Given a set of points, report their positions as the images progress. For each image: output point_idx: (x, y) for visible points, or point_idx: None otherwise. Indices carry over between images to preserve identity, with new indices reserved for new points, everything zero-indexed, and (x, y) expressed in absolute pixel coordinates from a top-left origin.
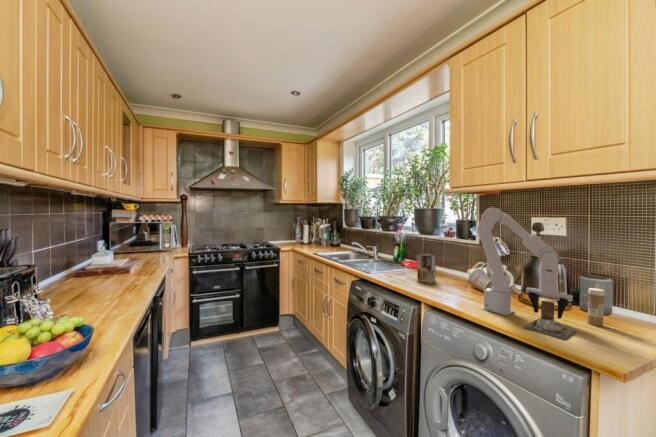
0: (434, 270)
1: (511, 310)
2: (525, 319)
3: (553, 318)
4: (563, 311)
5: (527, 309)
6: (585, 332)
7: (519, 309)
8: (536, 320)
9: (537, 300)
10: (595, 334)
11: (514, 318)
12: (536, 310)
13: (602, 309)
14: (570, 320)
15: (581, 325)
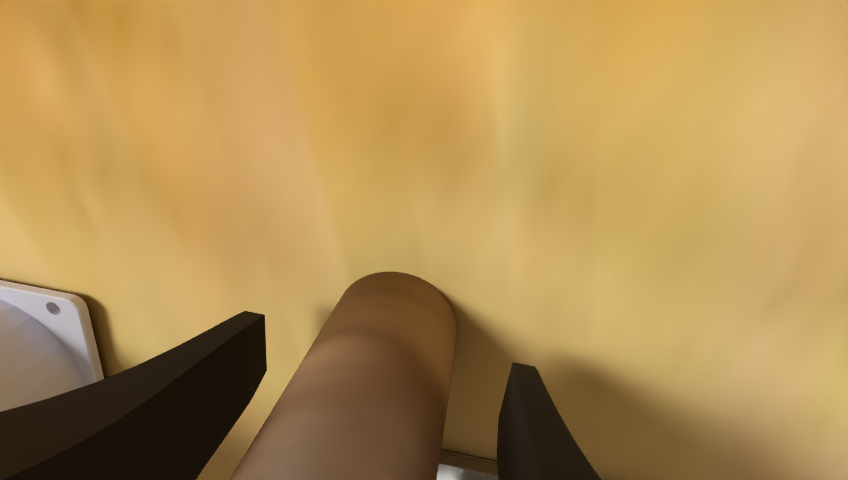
0: None
1: (52, 313)
2: None
3: (452, 368)
4: (568, 434)
5: (76, 24)
6: (746, 465)
7: (38, 125)
8: None
9: (142, 461)
10: (837, 465)
11: None
12: (251, 384)
13: None
14: (630, 122)
15: (749, 256)
